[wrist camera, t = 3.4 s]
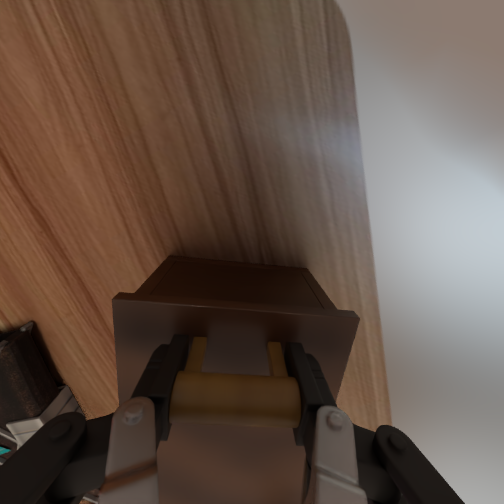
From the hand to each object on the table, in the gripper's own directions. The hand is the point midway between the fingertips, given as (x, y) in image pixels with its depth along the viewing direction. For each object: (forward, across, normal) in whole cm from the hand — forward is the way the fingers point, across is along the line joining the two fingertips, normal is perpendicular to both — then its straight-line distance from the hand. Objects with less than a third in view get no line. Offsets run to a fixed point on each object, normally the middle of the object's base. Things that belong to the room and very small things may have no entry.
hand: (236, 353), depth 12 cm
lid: (+1, 0, +6) cm, 6 cm away
